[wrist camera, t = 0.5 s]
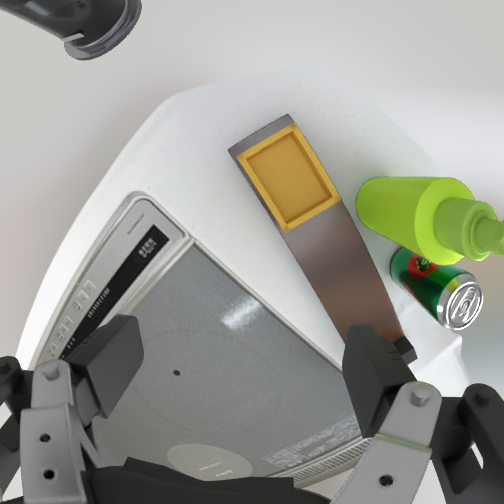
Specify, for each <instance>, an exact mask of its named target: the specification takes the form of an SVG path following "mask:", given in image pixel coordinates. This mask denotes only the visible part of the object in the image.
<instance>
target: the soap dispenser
mask: <svg viewBox="0 0 504 504" xmlns="http://www.w3.org/2000/svg"><path fill="white" fill-rule="evenodd" d="M356 209H357V214H358V216H359V218H360V220H361V222H362V223H363V224H364V225H365V226H366V227H368V228H369V229H371V230H373V231H375V232H377V233H379V234H381V235H383V236H385V237H387V238H388V239H390V240H392V241H394V242H396V243H398V244H400V245H402V246H404V247H405V248H407V249H409V250H411V251H413V252H415V253H416V254H418V255H420V256H422V257H424V258H425V259H427V260H429V261H431V262H433V263H435V264H438V265H450V264H453V263H455V262H457V261H459V260H460V259H461V258H462V257H467V258H469V259H471V260H474V261H479V260H483V259H485V258H486V257H487V256H488V255H489V254H490V253H491V252H493V253H495V254H497V255H500V256H502V257H504V221H503V222H500V221H498V219H497V216H496V213H495V211H494V209H493V208H492V207H491V206H490V205H489V204H487V203H485V202H481V201H475V199H474V197H473V195H472V193H471V191H470V190H469V189H468V187H467V186H466V185H465V184H463V183H462V182H461V181H459V180H457V179H454V178H448V177H376V178H373V179H370V180H368V181H367V182H366V183H365V184H364V185H363V186H362V187H361V188H360V190H359V192H358V195H357V199H356Z"/></svg>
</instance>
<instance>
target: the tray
mask: <svg viewBox="0 0 504 504" xmlns="http://www.w3.org/2000/svg"><path fill="white" fill-rule="evenodd" d="M237 158H238V160H239V162H240V163H241V165H242V166H243V168H244V169H245V171H246V172H247V174H248V175H249V177H250V179H251V180H252V182H253V183H254V185H255V186H256V188H257V190H258V191H259V193H260V194H261V196H262V198H263V199H264V201H265V202H266V204H267V206H268V207H269V209H270V210H271V212H272V214H273V215H274V217H275V218H276V220H277V222H278V223H279V225H280V227H281V228H282V230H283V232H284V233H286V232H288V231H290V230H291V229H293V228H295V227H296V226H298V225H300V224H302V223H303V222H305V221H307V220H308V219H310V218H312V217H313V216H315V215H317V214H318V213H320V212H322V211H323V210H325V209H327V208H328V207H330V206H332V205H333V204H335V203H337V202H338V201H340V200H342V199H341V197H340V195H339V193H338V192H337V190H336V188H335V186H334V185H333V183H332V181H331V179H330V178H329V176H328V174H327V173H326V171H325V169H324V167H323V166H322V164H321V162H320V161H319V159H318V158H317V156H316V154H315V153H314V151H313V150H312V148H311V146H310V145H309V143H308V142H307V140H306V139H305V137H304V135H303V134H302V132H301V131H300V129H299V128H298V126H297V125H296V123H295V122H294V123H292V124H290V125H289V126H287V127H285V128H283V129H282V130H280V131H278V132H276V133H275V134H273V135H271V136H270V137H268V138H266V139H265V140H263V141H261V142H260V143H258V144H256V145H255V146H253V147H251V148H250V149H248V150H246V151H245V152H243V153H242V154H240V155H238V156H237Z"/></svg>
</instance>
